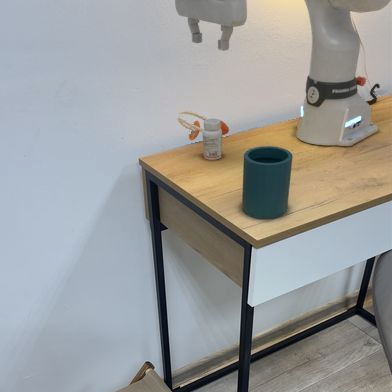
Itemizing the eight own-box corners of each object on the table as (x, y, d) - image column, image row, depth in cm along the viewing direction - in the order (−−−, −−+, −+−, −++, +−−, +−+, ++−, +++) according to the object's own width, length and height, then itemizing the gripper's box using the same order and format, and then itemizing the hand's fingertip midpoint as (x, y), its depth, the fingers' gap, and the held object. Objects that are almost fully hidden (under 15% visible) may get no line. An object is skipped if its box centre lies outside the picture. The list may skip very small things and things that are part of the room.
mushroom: (169, 136, 127) (213, 161, 136) (189, 117, 121) (233, 145, 130) (169, 114, 130) (212, 141, 139) (188, 94, 124) (231, 123, 133)
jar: (266, 194, 106) (270, 142, 99) (296, 210, 100) (302, 156, 93) (233, 206, 102) (234, 153, 95) (261, 223, 97) (265, 168, 89)
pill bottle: (211, 151, 125) (210, 116, 119) (226, 155, 123) (226, 120, 117) (199, 157, 122) (198, 122, 117) (214, 161, 120) (214, 125, 114)
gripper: (256, -35, 90) (252, 52, 99) (192, -41, 102) (194, 36, 112) (229, -32, 87) (228, 57, 97) (167, -38, 100) (171, 41, 109)
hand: (209, 46), depth 104 cm, fingers open, 8 cm apart
